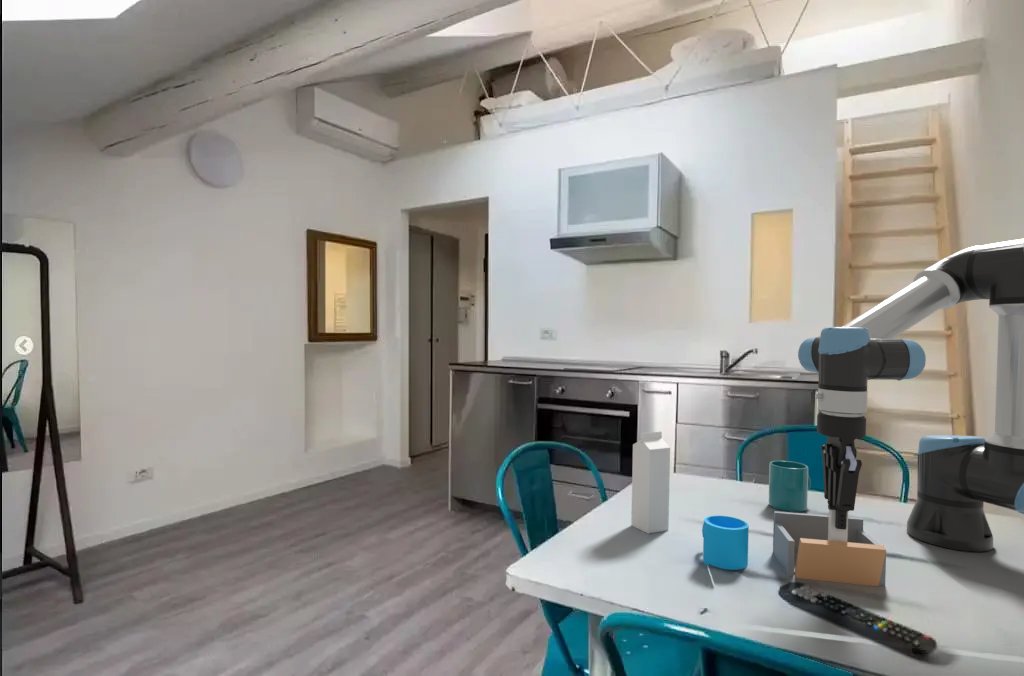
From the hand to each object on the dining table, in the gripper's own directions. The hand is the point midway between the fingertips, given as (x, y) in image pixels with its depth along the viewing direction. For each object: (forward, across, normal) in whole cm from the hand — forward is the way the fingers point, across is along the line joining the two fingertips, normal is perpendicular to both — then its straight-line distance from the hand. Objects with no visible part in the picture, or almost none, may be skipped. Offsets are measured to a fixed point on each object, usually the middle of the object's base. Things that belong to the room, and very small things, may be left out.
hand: (837, 544), depth 99 cm
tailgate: (+7, -1, 0) cm, 7 cm away
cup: (+8, -48, +5) cm, 49 cm away
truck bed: (+8, -7, 0) cm, 10 cm away
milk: (+8, -22, -32) cm, 39 cm away
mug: (+8, -7, -19) cm, 21 cm away
